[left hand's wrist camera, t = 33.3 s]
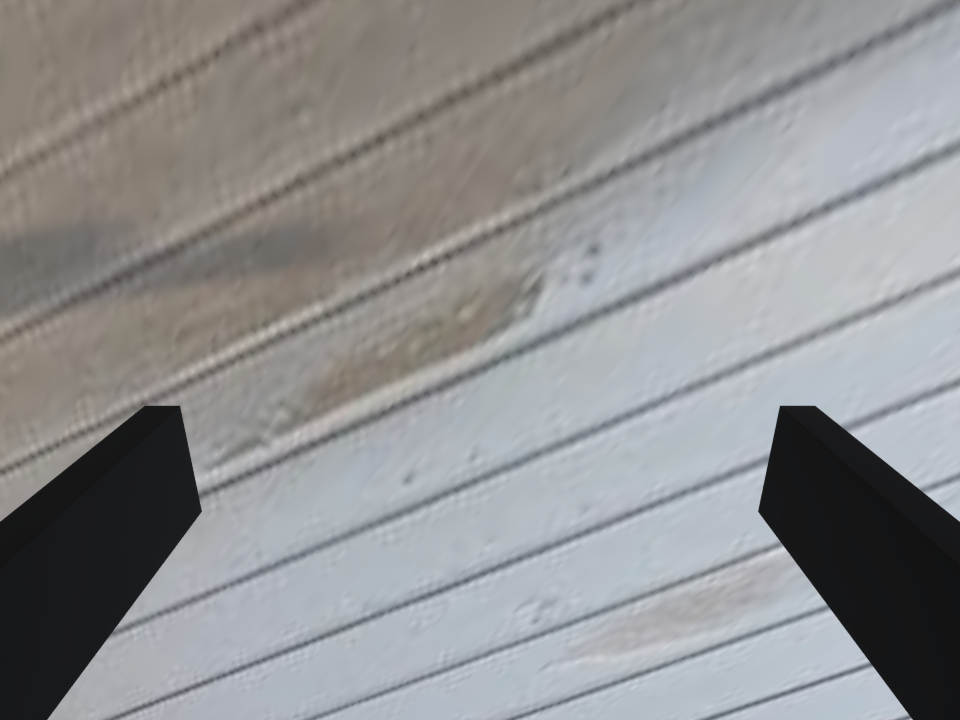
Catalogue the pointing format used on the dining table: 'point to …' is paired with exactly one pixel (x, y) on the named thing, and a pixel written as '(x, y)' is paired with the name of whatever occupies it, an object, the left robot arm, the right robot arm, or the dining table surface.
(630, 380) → the dining table surface
